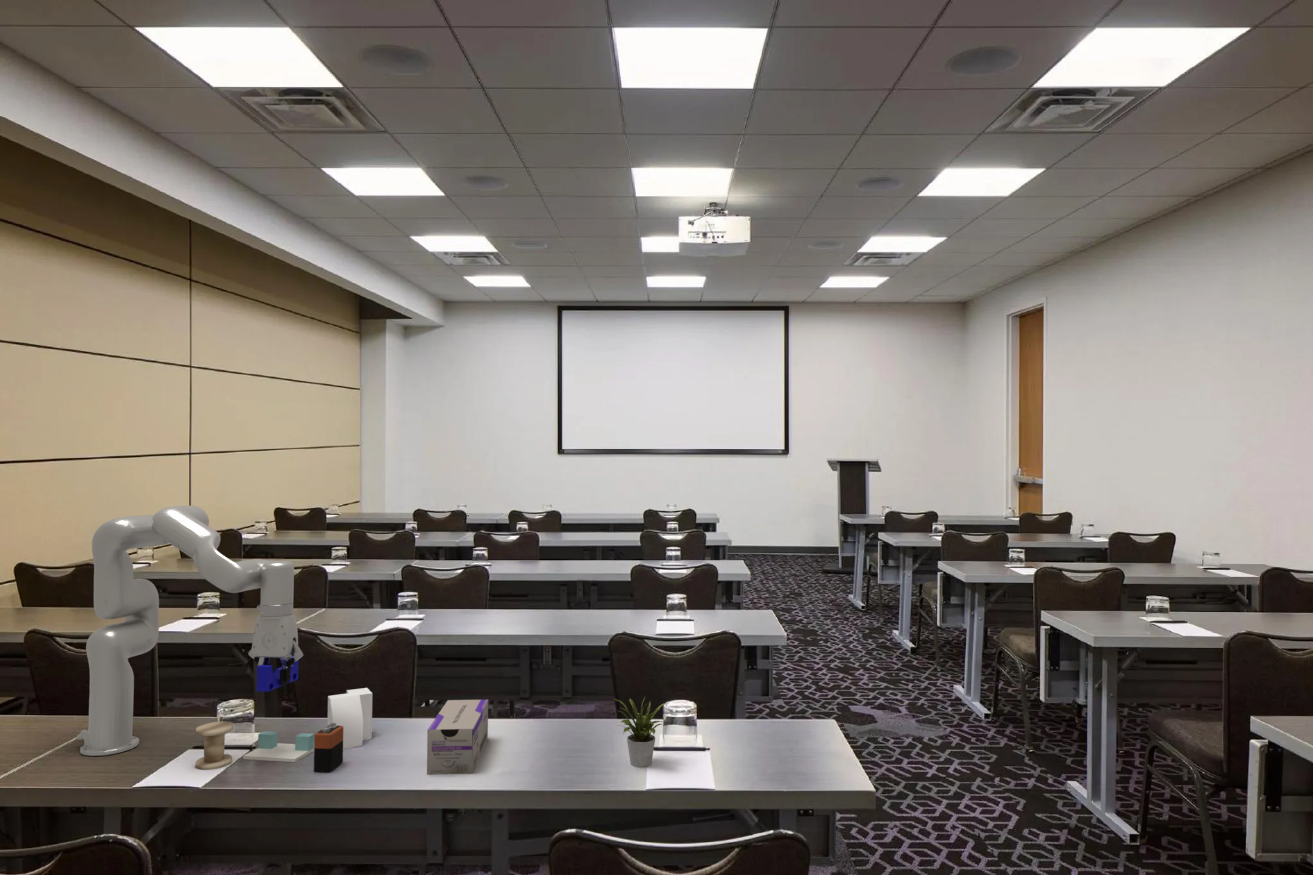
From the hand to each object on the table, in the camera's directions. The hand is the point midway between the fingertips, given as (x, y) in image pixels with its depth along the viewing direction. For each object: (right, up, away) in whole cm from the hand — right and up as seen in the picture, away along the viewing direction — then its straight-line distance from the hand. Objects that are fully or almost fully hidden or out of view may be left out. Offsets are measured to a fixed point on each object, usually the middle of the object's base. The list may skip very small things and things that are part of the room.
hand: (275, 682), depth 203 cm
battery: (+17, -18, -8) cm, 26 cm away
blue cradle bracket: (0, -1, 0) cm, 1 cm away
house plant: (+91, -19, -4) cm, 93 cm away
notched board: (+1, -19, +2) cm, 19 cm away
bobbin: (-12, -18, -5) cm, 23 cm away
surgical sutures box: (+46, -19, +1) cm, 50 cm away
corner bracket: (+14, -19, +12) cm, 27 cm away
